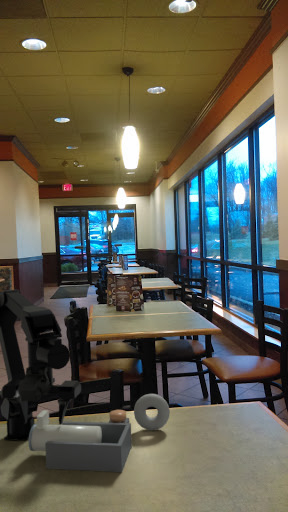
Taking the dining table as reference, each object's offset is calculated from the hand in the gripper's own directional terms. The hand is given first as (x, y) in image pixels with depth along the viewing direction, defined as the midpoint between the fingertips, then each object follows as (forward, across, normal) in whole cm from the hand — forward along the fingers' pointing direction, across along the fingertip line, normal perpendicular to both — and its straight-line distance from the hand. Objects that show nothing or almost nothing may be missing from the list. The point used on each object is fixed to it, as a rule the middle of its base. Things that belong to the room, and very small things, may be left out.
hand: (43, 423), depth 102 cm
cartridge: (+7, +6, 0) cm, 9 cm away
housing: (+8, +12, +3) cm, 15 cm away
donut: (+8, +25, +16) cm, 31 cm away
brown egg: (+6, +17, +9) cm, 20 cm away
